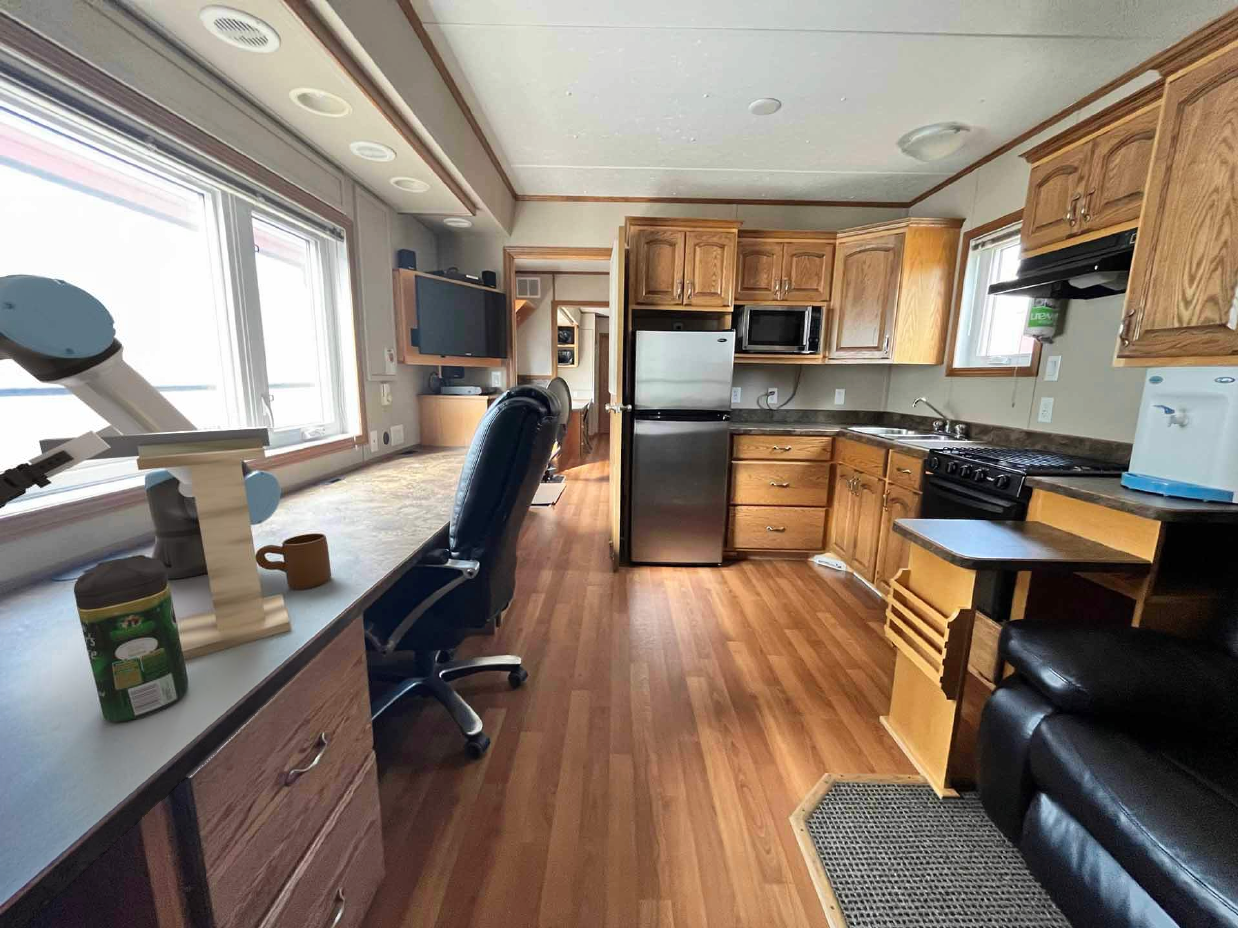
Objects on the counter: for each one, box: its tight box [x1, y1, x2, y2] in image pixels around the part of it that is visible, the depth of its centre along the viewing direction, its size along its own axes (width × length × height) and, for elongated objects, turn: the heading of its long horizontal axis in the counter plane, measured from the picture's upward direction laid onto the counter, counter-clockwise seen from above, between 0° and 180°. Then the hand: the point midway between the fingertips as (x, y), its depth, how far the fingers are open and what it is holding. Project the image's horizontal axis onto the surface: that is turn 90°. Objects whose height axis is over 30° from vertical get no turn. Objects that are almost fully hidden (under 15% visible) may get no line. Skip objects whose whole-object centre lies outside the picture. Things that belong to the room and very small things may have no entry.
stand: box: [136, 438, 291, 661], centre depth 75 cm, size 14×14×32 cm
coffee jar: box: [73, 554, 189, 724], centre depth 58 cm, size 10×8×19 cm
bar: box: [38, 426, 271, 461], centre depth 70 cm, size 3×24×3 cm, turn 130°
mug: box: [255, 532, 332, 591], centre depth 94 cm, size 12×8×9 cm, turn 120°
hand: (111, 435), depth 66 cm, fingers open, 13 cm apart
